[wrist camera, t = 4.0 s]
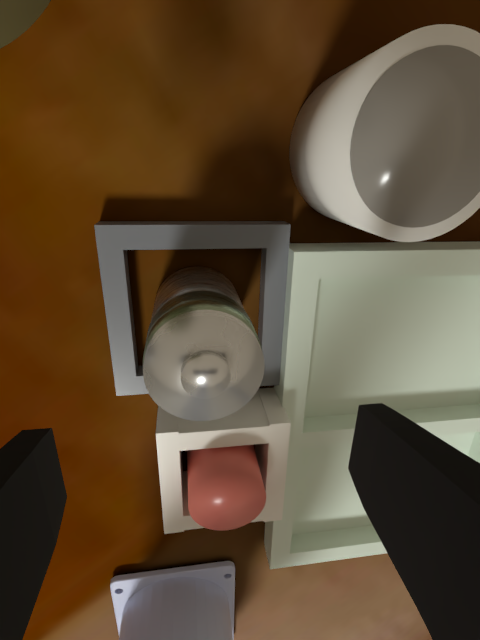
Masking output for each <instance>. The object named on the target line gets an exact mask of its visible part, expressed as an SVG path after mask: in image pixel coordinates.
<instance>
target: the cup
mask: <svg viewBox="0 0 480 640" xmlns="http://www.w3.org/2000/svg"><path fill="white" fill-rule="evenodd" d="M289 159H290V168H291V172H292V176H293V179H294V182H295V185H296V187H297V189H298V191H299V193H300V194H301V196H302V197H303V198H304V200H305V201H306V202H307V203H308V204H309V205H310V206H311V207H312V208H313V209H314V210H316V211H317V212H318V213H320V214H322V215H324V216H326V217H329V218H331V219H334V220H337V221H339V222H342V223H345V224H347V225H350V226H353V227H356V228H358V229H361V230H364V231H366V232H369V233H372V234H374V235H377V236H380V237H383V238H385V239H388V240H393V241H398V242H418V241H424V240H428V239H432V238H435V237H437V236H440V235H443V234H445V233H447V232H449V231H451V230H452V229H454V228H456V227H457V226H459V225H460V224H462V223H463V222H464V221H466V220H467V219H468V218H469V217H471V216H472V215H473V214H474V213H475V212H476V211H477V210H478V209H479V208H480V33H478V32H477V31H475V30H472V29H470V28H467V27H464V26H459V25H453V24H437V25H431V26H425V27H422V28H419V29H416V30H413V31H411V32H409V33H407V34H405V35H403V36H401V37H399V38H397V39H396V40H394V41H392V42H390V43H389V44H387V45H385V46H383V47H382V48H380V49H378V50H376V51H375V52H373V53H371V54H369V55H368V56H366V57H364V58H362V59H361V60H359V61H357V62H355V63H354V64H352V65H350V66H349V67H347V68H345V69H343V70H342V71H340V72H338V73H336V74H335V75H333V76H331V77H330V78H328V79H327V80H325V81H324V82H323V83H321V84H320V85H319V86H318V87H317V88H316V89H315V90H314V91H313V92H312V93H311V95H310V96H309V97H308V98H307V100H306V101H305V103H304V104H303V106H302V108H301V110H300V112H299V114H298V116H297V118H296V121H295V123H294V126H293V130H292V134H291V139H290V147H289Z"/></svg>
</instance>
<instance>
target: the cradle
mask: <svg viewBox="0 0 480 640" xmlns="http://www.w3.org/2000/svg"><path fill="white" fill-rule="evenodd" d="M94 227H95V235H96V242H97V250H98V258H99V265H100V273H101V281H102V288H103V296H104V304H105V311H106V319H107V327H108V334H109V342H110V350H111V357H112V365H113V373H114V380H115V388H116V396H120V395H135V394H149V393H148V391H147V389H146V386H145V383H144V378H143V366H138V357H137V347H136V337H135V327H134V317H133V307H132V297H131V287H130V277H129V267H128V257H127V250H160V249H245V248H262V255H261V279H260V302H259V326H258V338H259V341H260V344H261V347H262V352H263V356H264V364H265V369H264V376H263V379H262V382H261V385H260V386H272V385H279V383H280V369H281V355H282V341H283V326H284V312H285V298H286V284H287V270H288V256H289V242H290V228H291V224H289V223H287V222H285V221H99V222H98V223H96V224H95V225H94Z"/></svg>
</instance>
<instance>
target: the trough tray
mask: <svg viewBox="0 0 480 640" xmlns="http://www.w3.org/2000/svg"><path fill="white" fill-rule="evenodd" d="M274 389H275V391H276V394H277V396H278V398H279V401H280V403H281V406H282V407H284V408H285V410H286V413H287V415H288V417H289V420H290V422H291V426H290V437H289V448H288V459H287V471H286V482H285V493H284V504H283V515H282V520H277V521H269V522H265V534H264V545H265V549H266V554H267V559H268V563H269V568H270V569H276V568H283V567H290V566H297V565H305V564H312V563H319V562H326V561H334V560H341V559H348V558H355V557H363V556H370V555H377V554H384V553H387V551H386V549H385V548H384V546H383V544H382V542H381V540H380V538H379V536H378V534H377V533H376V531H375V529H374V527H373V525H372V523H371V521H370V519H369V518H368V516H367V514H366V512H365V510H364V508H363V505H362V503H361V501H360V498H359V496H358V493H357V491H356V488H355V486H354V483H353V480H352V478H351V475H350V472H349V470H348V465H349V459H350V453H351V448H352V442H353V436H354V430H355V425H356V419H357V413H358V407H359V405H363V404H376V403H383V404H385V405H386V406H388V407H390V408H392V409H393V410H395V411H397V412H398V413H400V414H402V415H403V416H405V417H407V418H408V419H410V420H411V421H413V422H415V423H416V424H418V425H419V426H421V427H422V428H424V429H426V430H427V431H429V432H430V433H432V434H433V435H435V436H437V437H438V438H440V439H441V440H443V441H445V442H446V443H448V444H449V445H451V446H452V447H454V448H456V449H457V450H459V451H461V452H462V453H464V454H465V455H467V456H469V457H470V458H472V459H474V460H475V461H477V462H479V463H480V241H477V242H376V243H289V256H288V270H287V284H286V298H285V312H284V326H283V341H282V355H281V369H280V383H279V385H274Z"/></svg>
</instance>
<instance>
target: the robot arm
mask: <svg viewBox="0 0 480 640" xmlns="http://www.w3.org/2000/svg"><path fill="white" fill-rule="evenodd" d="M348 470H349V472H350V475H351V478H352V480H353V483H354V486H355V488H356V491H357V493H358V496H359V498H360V501H361V503H362V505H363V508H364V510H365V512H366V514H367V516H368V518H369V519H370V521H371V523H372V525H373V527H374V529H375V531H376V533H377V534H378V536H379V538H380V540H381V542H382V544H383V546H384V548H385V549H386V551H387V553H388V555H389V557H390V559H391V560H392V562H393V564H394V566H395V568H396V570H397V571H398V573H399V575H400V577H401V579H402V581H403V583H404V584H405V586H406V588H407V590H408V592H409V594H410V595H411V597H412V599H413V601H414V603H415V605H416V607H417V609H418V611H419V613H420V615H421V617H422V619H423V621H424V623H425V625H426V627H427V629H428V631H429V633H430V635H431V637H432V639H433V640H480V463H479V462H477V461H475V460H474V459H472V458H470V457H469V456H467V455H465V454H464V453H462V452H461V451H459V450H457V449H456V448H454V447H452V446H451V445H449V444H448V443H446V442H445V441H443V440H441V439H440V438H438V437H437V436H435V435H433V434H432V433H430V432H429V431H427V430H426V429H424V428H422V427H421V426H419V425H418V424H416V423H415V422H413V421H411V420H410V419H408V418H407V417H405V416H403V415H402V414H400V413H398V412H397V411H395V410H393V409H392V408H390V407H388V406H386V405H385V404H383V403H376V404H363V405H359V407H358V413H357V419H356V425H355V430H354V436H353V442H352V448H351V453H350V459H349V465H348ZM66 498H67V495H66V490H65V486H64V481H63V477H62V472H61V468H60V463H59V459H58V454H57V449H56V445H55V440H54V436H53V431H52V428H47V429H34V430H22V431H21V432H20V433H19V434H17V435H16V436H15V437H14V438H12V439H11V440H10V441H9V442H8V443H7V444H5V445H4V446H3V447H2V448H1V449H0V640H22V639H23V636H24V633H25V630H26V628H27V625H28V622H29V619H30V616H31V614H32V611H33V608H34V605H35V602H36V600H37V597H38V594H39V591H40V588H41V586H42V583H43V580H44V577H45V574H46V571H47V569H48V566H49V563H50V560H51V557H52V554H53V551H54V548H55V545H56V542H57V538H58V534H59V529H60V525H61V521H62V517H63V512H64V507H65V503H66ZM110 589H111V594H112V600H113V605H114V611H115V616H116V622H117V627H118V633H119V640H234V600H235V565H234V563H233V562H232V561H222V562H214V563H207V564H199V565H192V566H184V567H176V568H169V569H161V570H154V571H146V572H139V573H131V574H124V575H117V576H115V577H113V578H112V579H111V584H110Z"/></svg>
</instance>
